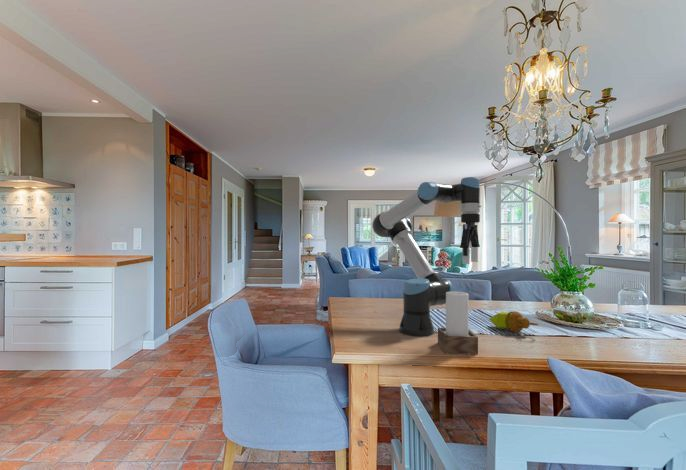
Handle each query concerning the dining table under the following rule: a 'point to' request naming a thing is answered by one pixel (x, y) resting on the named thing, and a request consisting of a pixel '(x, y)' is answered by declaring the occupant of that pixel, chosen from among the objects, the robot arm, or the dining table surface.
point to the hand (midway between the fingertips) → (470, 262)
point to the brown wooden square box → (458, 343)
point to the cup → (456, 313)
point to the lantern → (510, 321)
